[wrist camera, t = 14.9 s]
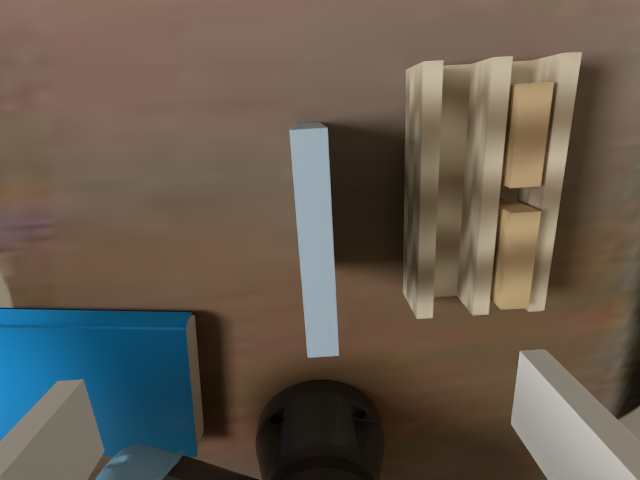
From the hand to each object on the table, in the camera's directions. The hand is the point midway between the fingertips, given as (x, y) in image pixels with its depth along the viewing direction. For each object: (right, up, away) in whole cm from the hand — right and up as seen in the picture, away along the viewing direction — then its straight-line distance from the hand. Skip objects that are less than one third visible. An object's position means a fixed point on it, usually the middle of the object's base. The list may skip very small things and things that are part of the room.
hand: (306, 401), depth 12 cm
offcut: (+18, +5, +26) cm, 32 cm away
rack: (+15, +10, +26) cm, 31 cm away
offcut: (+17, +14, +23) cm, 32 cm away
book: (-26, -10, +32) cm, 42 cm away
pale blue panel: (0, +9, +26) cm, 27 cm away
